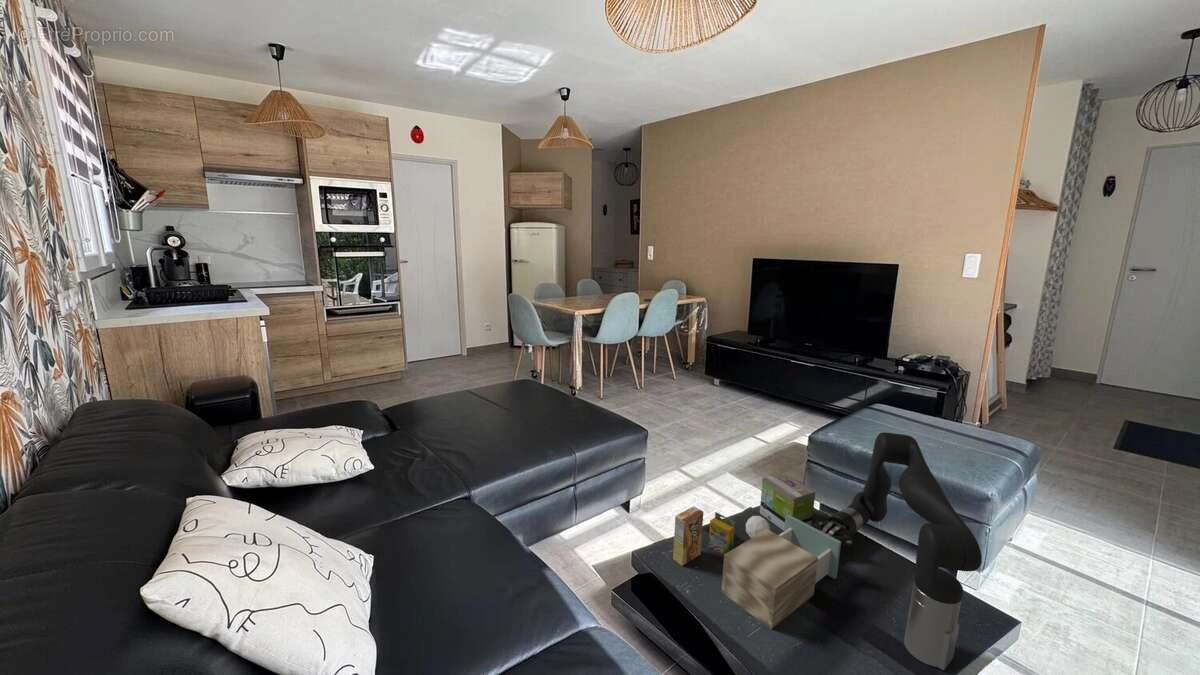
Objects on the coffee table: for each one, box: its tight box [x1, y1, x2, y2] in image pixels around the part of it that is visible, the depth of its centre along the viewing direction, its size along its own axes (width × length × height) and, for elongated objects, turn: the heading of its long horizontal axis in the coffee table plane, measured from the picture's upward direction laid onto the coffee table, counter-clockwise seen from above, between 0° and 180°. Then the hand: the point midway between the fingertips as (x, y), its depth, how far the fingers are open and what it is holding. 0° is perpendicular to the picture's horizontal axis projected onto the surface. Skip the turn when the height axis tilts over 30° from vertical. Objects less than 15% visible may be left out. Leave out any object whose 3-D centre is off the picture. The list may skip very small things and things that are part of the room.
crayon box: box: [708, 511, 736, 556], centre depth 149 cm, size 7×3×12 cm, turn 43°
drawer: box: [778, 514, 842, 584], centre depth 138 cm, size 17×20×12 cm
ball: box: [745, 515, 771, 539], centre depth 156 cm, size 8×8×8 cm
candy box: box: [672, 505, 704, 566], centre depth 145 cm, size 9×4×15 cm, turn 129°
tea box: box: [759, 472, 816, 532], centre depth 164 cm, size 15×10×15 cm
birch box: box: [721, 529, 818, 630], centre depth 131 cm, size 16×20×12 cm
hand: (817, 541), depth 145 cm, fingers closed
